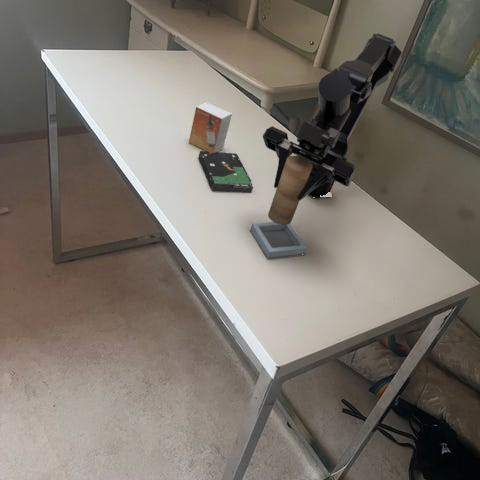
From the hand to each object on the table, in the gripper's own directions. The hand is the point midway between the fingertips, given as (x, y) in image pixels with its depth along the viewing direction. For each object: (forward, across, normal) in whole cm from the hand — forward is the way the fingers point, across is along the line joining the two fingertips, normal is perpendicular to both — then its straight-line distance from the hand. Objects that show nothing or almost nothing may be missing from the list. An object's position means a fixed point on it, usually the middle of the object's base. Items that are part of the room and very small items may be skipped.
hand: (286, 193), depth 88 cm
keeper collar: (+8, +1, +10) cm, 13 cm away
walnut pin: (+4, 0, +6) cm, 7 cm away
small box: (-8, -32, +27) cm, 42 cm away
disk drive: (-1, -21, +21) cm, 30 cm away
